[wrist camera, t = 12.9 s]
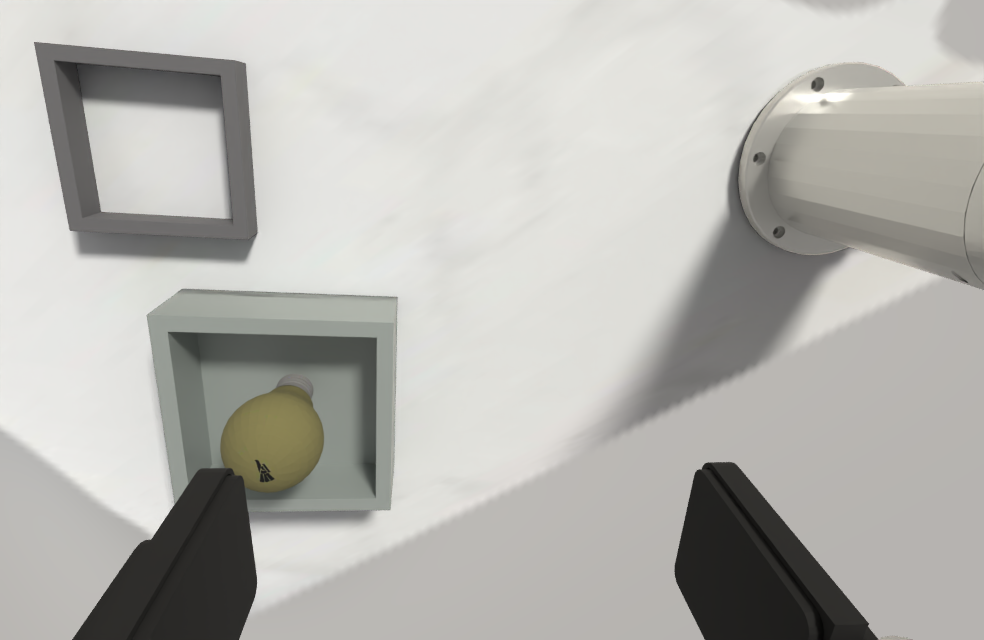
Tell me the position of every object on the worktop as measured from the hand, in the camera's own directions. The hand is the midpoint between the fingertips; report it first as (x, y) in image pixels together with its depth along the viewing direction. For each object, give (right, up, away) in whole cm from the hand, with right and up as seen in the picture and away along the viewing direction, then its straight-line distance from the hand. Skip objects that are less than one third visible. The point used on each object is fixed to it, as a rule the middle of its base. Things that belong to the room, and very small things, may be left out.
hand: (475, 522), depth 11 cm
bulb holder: (-19, +15, +22) cm, 33 cm away
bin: (-14, -1, +28) cm, 31 cm away
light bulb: (-13, 0, +27) cm, 30 cm away
